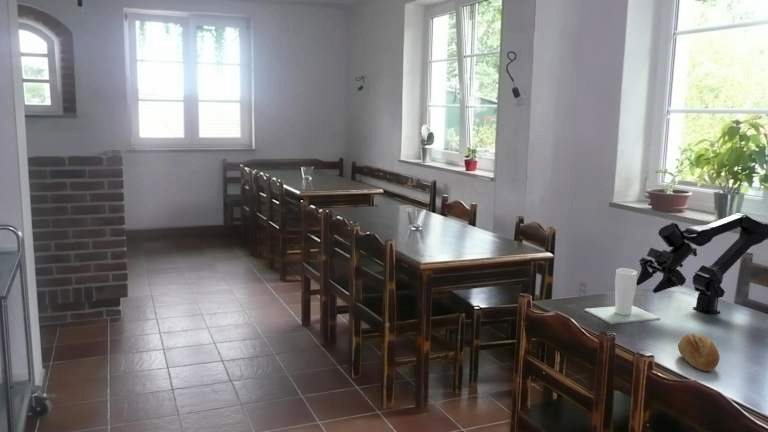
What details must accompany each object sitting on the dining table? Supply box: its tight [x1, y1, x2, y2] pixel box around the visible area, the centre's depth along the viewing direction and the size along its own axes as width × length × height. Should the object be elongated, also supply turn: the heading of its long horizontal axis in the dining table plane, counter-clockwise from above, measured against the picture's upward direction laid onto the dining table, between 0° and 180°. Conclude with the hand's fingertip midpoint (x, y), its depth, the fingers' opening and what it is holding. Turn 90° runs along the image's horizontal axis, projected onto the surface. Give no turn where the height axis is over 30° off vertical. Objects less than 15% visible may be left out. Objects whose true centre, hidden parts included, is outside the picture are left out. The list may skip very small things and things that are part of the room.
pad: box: [583, 305, 661, 325], centre depth 222 cm, size 20×14×1 cm
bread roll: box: [677, 333, 720, 372], centre depth 181 cm, size 10×15×8 cm, turn 175°
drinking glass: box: [614, 267, 638, 315], centre depth 220 cm, size 7×7×15 cm
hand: (644, 288), depth 223 cm, fingers open, 9 cm apart
